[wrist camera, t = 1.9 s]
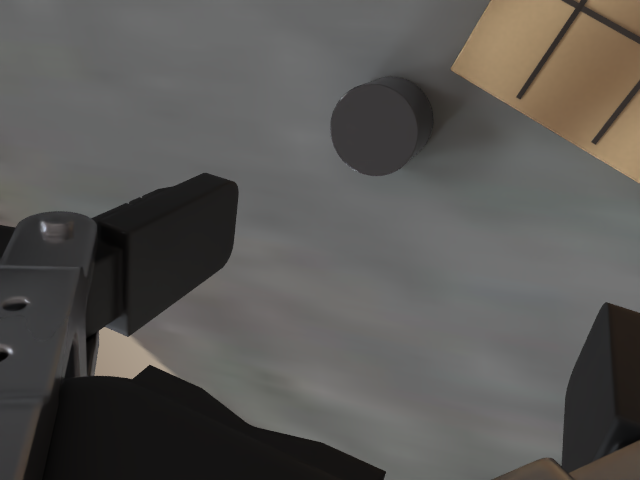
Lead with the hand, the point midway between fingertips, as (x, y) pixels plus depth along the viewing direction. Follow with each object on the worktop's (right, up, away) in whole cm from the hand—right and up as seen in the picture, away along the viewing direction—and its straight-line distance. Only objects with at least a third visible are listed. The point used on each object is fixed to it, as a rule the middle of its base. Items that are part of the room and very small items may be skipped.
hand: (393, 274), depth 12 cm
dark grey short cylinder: (+2, +7, +19) cm, 20 cm away
